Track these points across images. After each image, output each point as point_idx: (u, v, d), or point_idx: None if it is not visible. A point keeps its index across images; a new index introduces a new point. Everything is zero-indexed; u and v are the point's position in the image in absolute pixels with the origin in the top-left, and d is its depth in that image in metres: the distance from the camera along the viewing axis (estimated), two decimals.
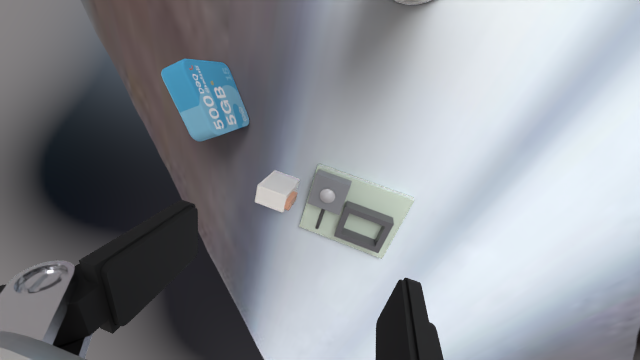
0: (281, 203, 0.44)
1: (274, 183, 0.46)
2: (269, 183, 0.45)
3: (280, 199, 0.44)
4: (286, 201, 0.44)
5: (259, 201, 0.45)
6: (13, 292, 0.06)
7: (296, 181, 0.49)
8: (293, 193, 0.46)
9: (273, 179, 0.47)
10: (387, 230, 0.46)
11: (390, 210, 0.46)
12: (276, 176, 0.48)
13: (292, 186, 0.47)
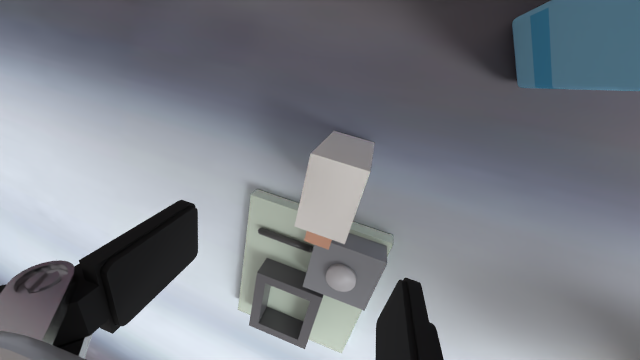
0: (320, 227, 0.17)
1: None
2: None
3: (331, 227, 0.17)
4: (328, 240, 0.17)
5: (315, 168, 0.15)
6: (13, 292, 0.06)
7: None
8: None
9: None
10: (292, 341, 0.29)
11: (321, 329, 0.31)
12: None
13: None
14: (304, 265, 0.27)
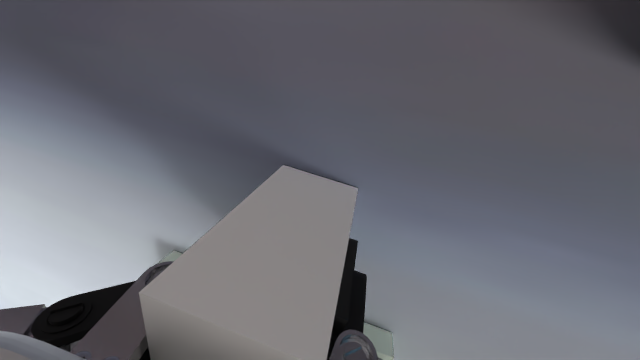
0: None
1: None
2: None
3: None
4: None
5: (164, 329, 0.05)
6: None
7: None
8: None
9: None
10: None
11: None
12: None
13: None
14: None
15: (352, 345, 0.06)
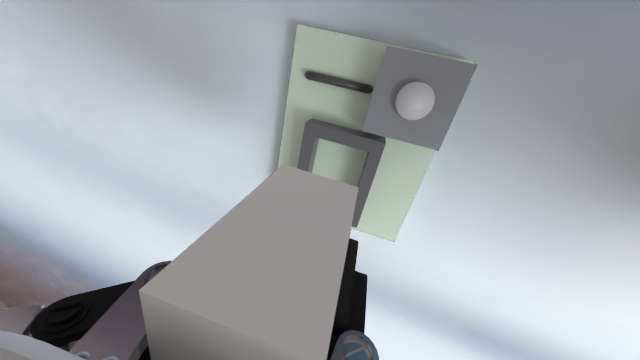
0: None
1: None
2: None
3: None
4: None
5: (164, 327, 0.05)
6: None
7: None
8: None
9: None
10: None
11: (371, 211, 0.27)
12: None
13: None
14: (358, 119, 0.23)
15: (353, 346, 0.06)
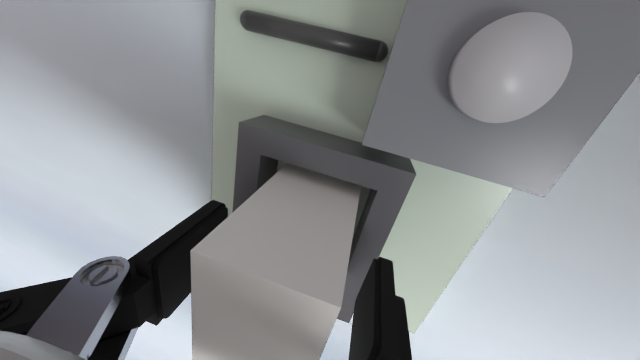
0: None
1: None
2: None
3: None
4: None
5: (208, 283, 0.06)
6: (80, 285, 0.06)
7: None
8: None
9: None
10: None
11: None
12: None
13: None
14: (355, 119, 0.11)
15: None
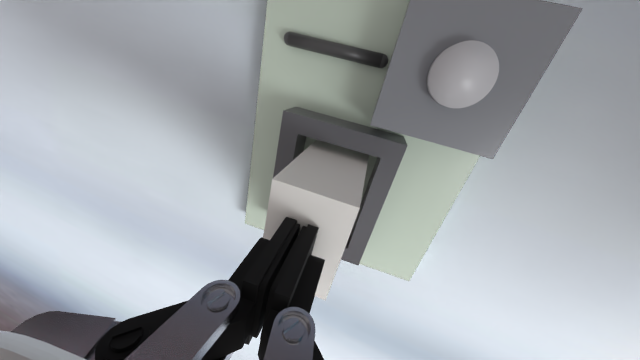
0: None
1: None
2: None
3: None
4: None
5: (280, 200, 0.10)
6: (204, 311, 0.06)
7: None
8: None
9: None
10: None
11: (379, 240, 0.19)
12: None
13: None
14: (364, 109, 0.16)
15: (290, 321, 0.07)
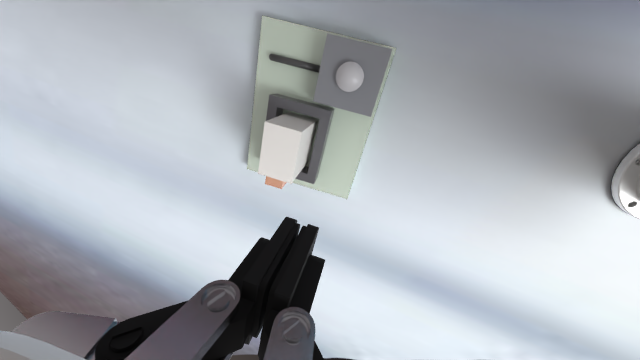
0: (274, 173, 0.26)
1: (303, 146, 0.27)
2: (303, 141, 0.26)
3: (282, 172, 0.25)
4: (280, 181, 0.26)
5: (268, 131, 0.24)
6: (203, 311, 0.06)
7: (306, 162, 0.31)
8: None
9: (308, 137, 0.27)
10: (302, 177, 0.31)
11: (328, 173, 0.33)
12: (311, 134, 0.29)
13: (301, 169, 0.29)
14: (313, 94, 0.29)
15: (290, 321, 0.07)
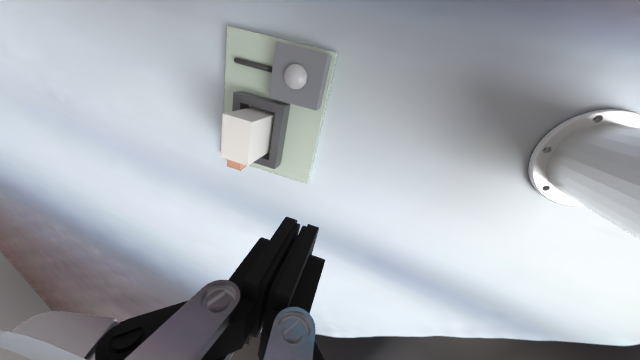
0: (233, 156, 0.31)
1: (259, 135, 0.32)
2: (257, 131, 0.31)
3: (239, 155, 0.31)
4: (239, 164, 0.31)
5: (226, 121, 0.29)
6: (204, 311, 0.06)
7: (268, 150, 0.37)
8: None
9: (264, 128, 0.32)
10: (264, 163, 0.36)
11: (289, 160, 0.38)
12: (269, 125, 0.34)
13: (261, 155, 0.34)
14: None
15: (290, 321, 0.07)
